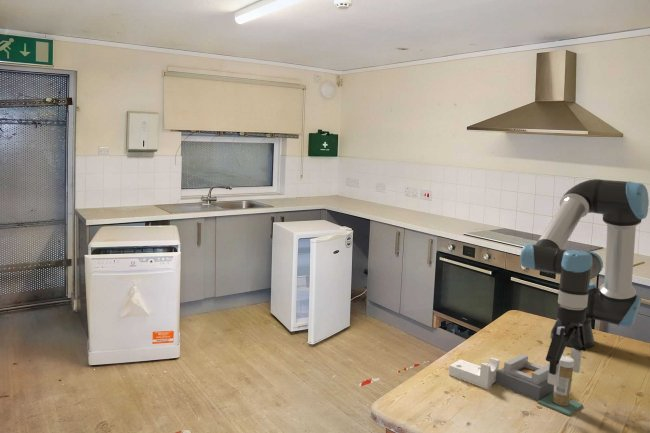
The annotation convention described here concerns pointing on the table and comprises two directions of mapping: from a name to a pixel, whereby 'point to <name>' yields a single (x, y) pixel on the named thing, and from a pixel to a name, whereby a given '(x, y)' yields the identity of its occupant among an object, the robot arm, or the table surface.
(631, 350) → the table surface
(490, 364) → the bracket
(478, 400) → the table surface
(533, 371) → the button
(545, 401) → the mat
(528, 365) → the grey square holder
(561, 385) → the sprinkles bottle
